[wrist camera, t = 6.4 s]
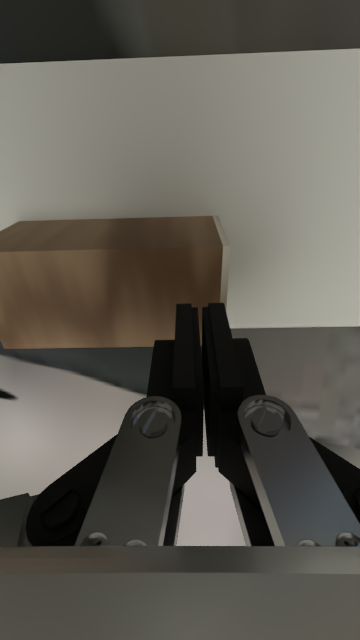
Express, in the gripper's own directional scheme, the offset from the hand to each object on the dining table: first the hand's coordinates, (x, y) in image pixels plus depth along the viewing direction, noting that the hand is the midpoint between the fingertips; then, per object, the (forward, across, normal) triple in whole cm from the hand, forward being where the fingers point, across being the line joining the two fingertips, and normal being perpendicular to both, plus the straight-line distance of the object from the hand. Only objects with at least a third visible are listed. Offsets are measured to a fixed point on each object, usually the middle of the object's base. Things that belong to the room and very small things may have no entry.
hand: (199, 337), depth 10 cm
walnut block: (+5, -1, 0) cm, 5 cm away
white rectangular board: (+8, 0, -2) cm, 8 cm away
